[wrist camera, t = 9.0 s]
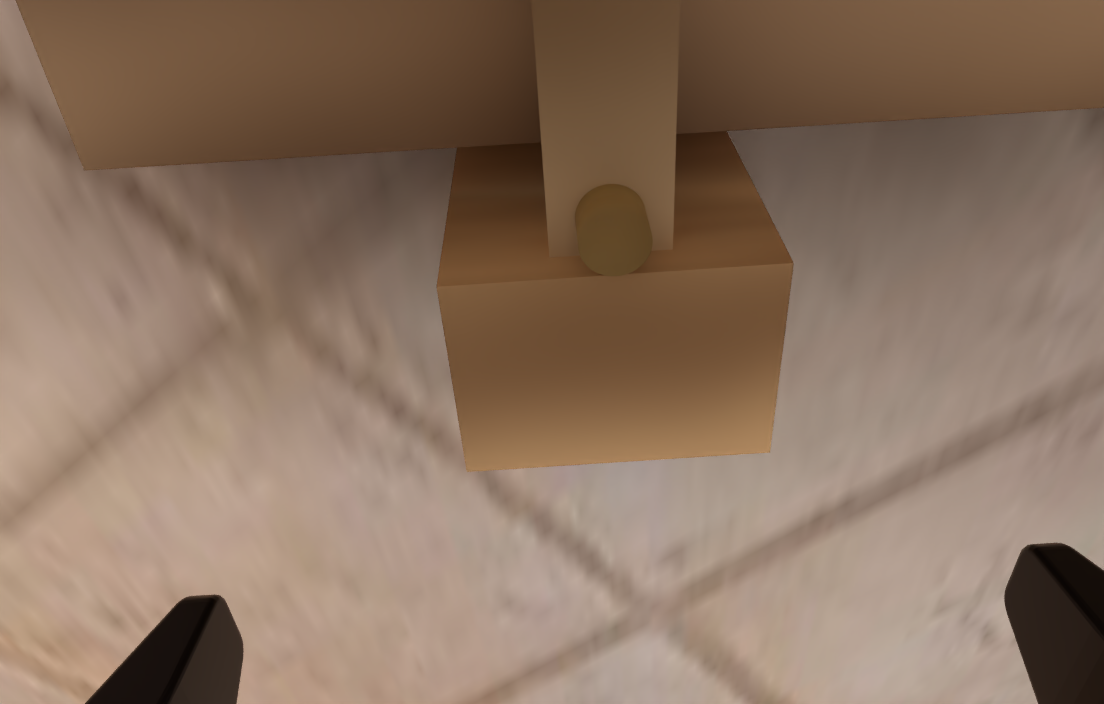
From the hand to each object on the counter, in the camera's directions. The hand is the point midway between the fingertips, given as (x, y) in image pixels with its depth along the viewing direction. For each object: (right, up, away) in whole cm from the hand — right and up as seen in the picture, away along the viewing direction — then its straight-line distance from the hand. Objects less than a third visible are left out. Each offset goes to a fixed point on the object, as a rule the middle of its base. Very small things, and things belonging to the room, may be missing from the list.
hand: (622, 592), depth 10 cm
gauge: (0, +8, +5) cm, 10 cm away
